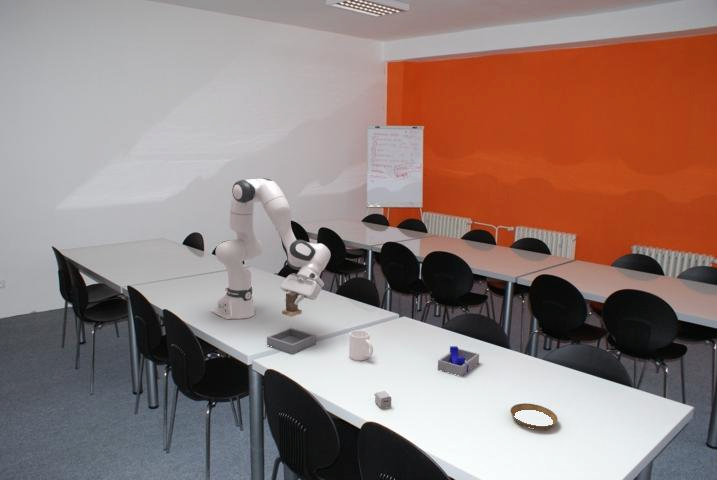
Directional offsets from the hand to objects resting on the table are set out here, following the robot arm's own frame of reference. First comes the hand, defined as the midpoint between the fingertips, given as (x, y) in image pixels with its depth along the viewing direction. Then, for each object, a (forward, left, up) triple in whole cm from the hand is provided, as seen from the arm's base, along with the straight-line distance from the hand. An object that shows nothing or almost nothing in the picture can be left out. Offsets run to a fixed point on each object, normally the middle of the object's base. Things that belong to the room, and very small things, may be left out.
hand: (290, 302), depth 231 cm
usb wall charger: (+60, -19, -20) cm, 66 cm away
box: (0, +1, -19) cm, 19 cm away
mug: (+33, +8, -19) cm, 39 cm away
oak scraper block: (0, +1, -5) cm, 5 cm away
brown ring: (+106, +2, -20) cm, 107 cm away
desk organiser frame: (+68, +26, -19) cm, 75 cm away
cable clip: (+67, +26, -19) cm, 75 cm away
